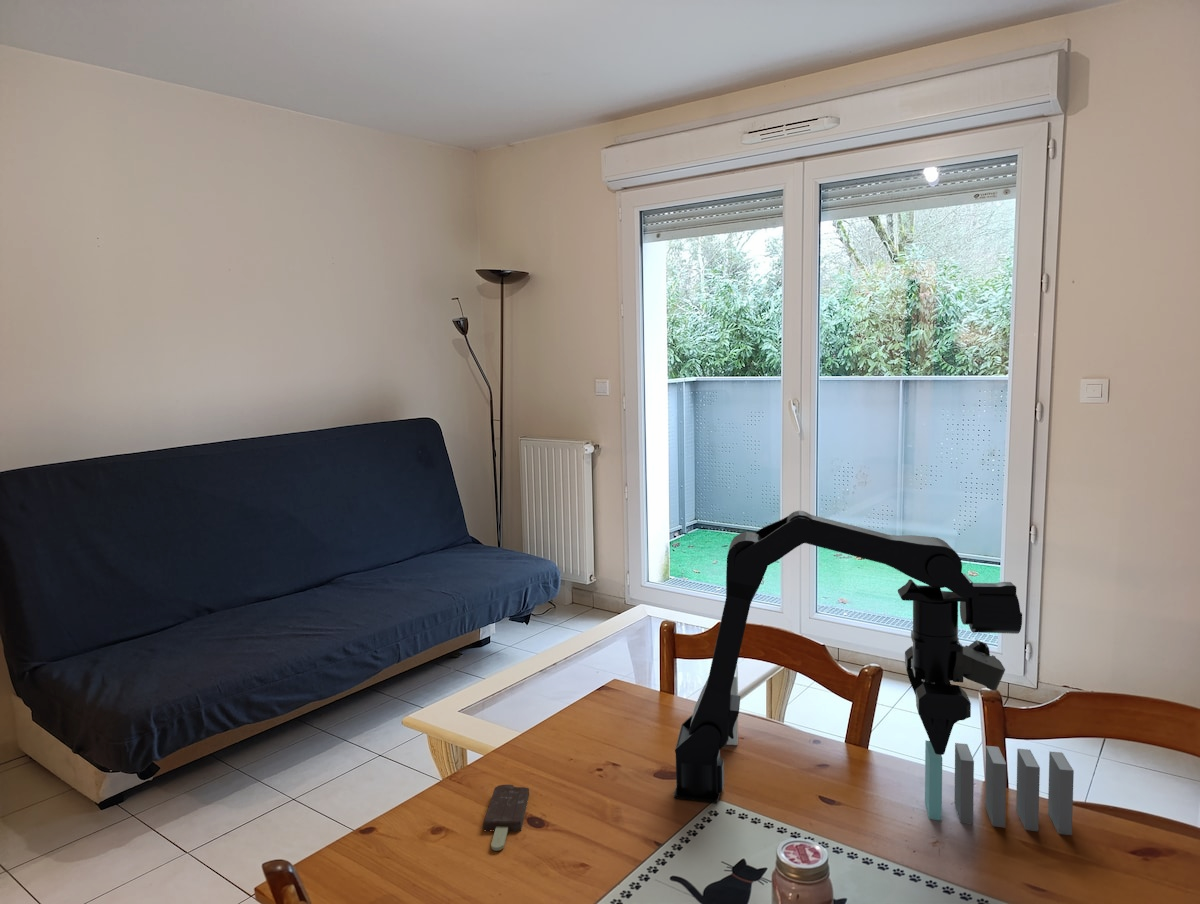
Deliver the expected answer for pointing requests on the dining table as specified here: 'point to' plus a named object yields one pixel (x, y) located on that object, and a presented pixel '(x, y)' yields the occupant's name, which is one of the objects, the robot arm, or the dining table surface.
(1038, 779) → the domino
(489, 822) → the ice cream bar
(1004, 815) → the domino
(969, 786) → the domino
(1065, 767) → the domino
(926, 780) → the placed domino
